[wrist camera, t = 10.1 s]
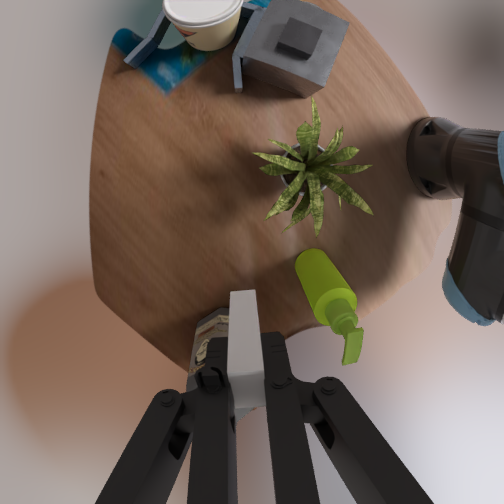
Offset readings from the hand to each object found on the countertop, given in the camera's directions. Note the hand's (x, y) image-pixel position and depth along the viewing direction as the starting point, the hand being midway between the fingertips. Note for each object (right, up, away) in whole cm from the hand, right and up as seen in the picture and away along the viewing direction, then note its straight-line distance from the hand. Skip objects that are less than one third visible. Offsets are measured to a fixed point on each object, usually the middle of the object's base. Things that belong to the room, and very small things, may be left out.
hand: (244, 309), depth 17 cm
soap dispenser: (+11, +1, +29) cm, 31 cm away
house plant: (+6, +17, +22) cm, 28 cm away
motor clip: (-3, +35, +14) cm, 37 cm away
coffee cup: (-6, +36, +13) cm, 39 cm away
